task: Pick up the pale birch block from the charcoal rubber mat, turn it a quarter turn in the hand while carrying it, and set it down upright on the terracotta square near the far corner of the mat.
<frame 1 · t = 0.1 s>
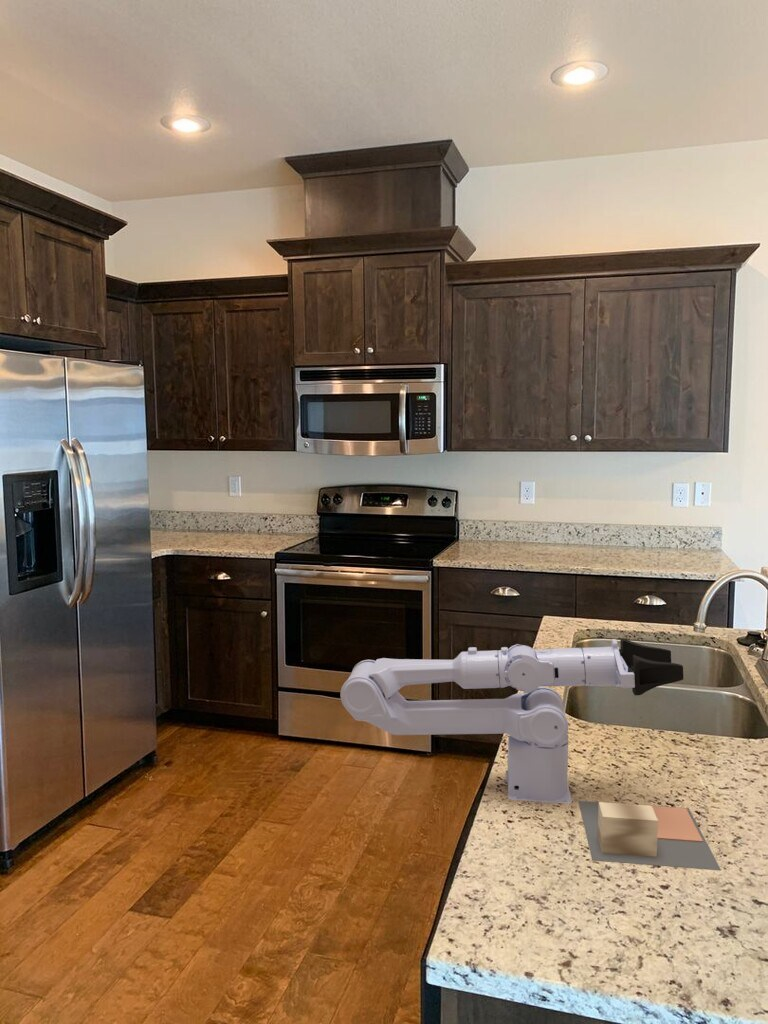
hand: (676, 664, 112), 21 cm above the worktop, tool horizontal, fingers open, 7 cm apart
birch block: (626, 846, 101), resting on rubber mat
rubber mat: (643, 835, 105), on the worktop
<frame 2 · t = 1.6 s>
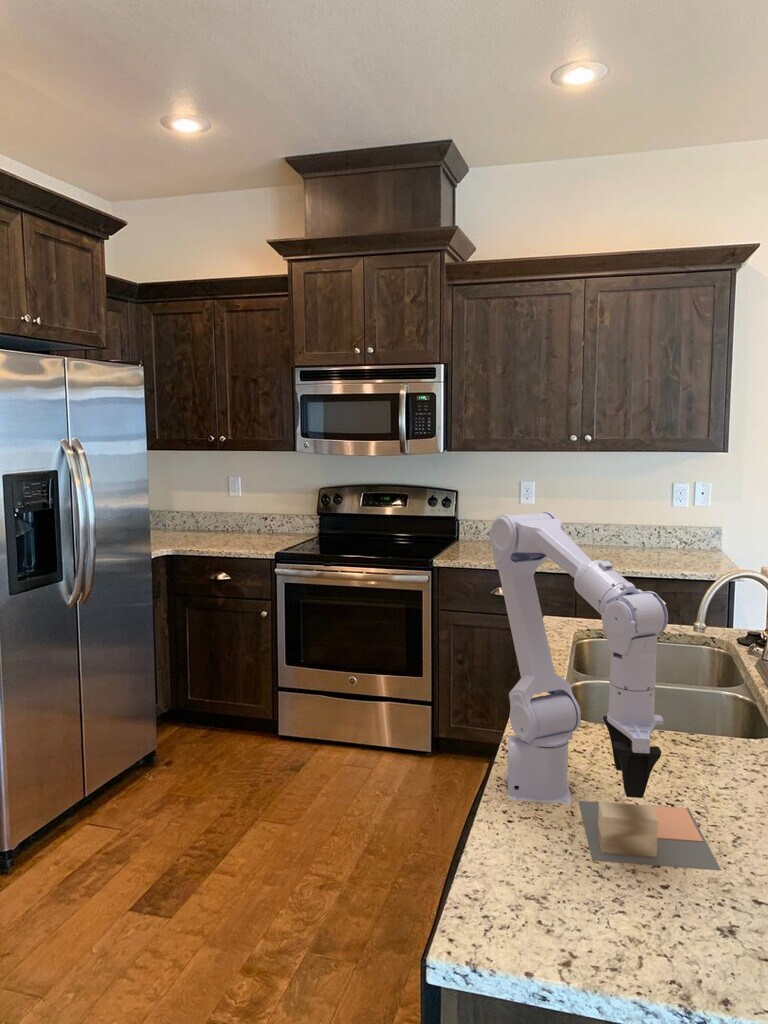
hand: (628, 782, 100), 9 cm above the worktop, tool pointing down, fingers open, 7 cm apart
nothing on the worktop moved.
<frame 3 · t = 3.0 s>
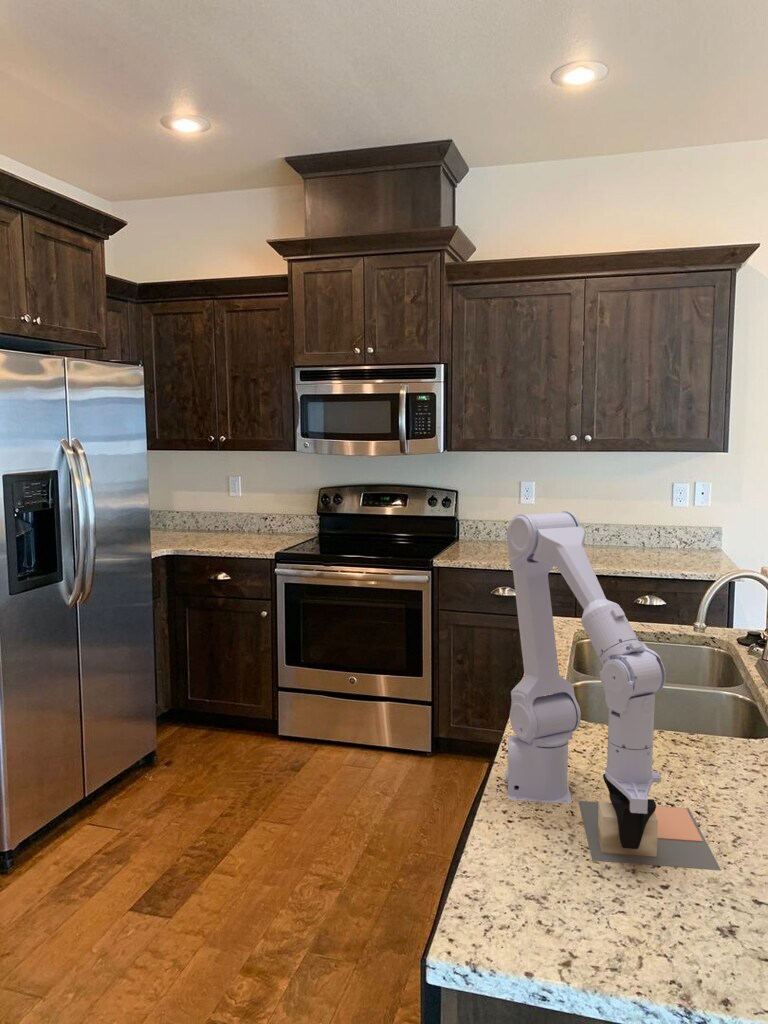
hand: (626, 837, 101), 2 cm above the worktop, tool pointing down, fingers closed on birch block, 4 cm apart
birch block: (626, 846, 101), resting on rubber mat, touching gripper
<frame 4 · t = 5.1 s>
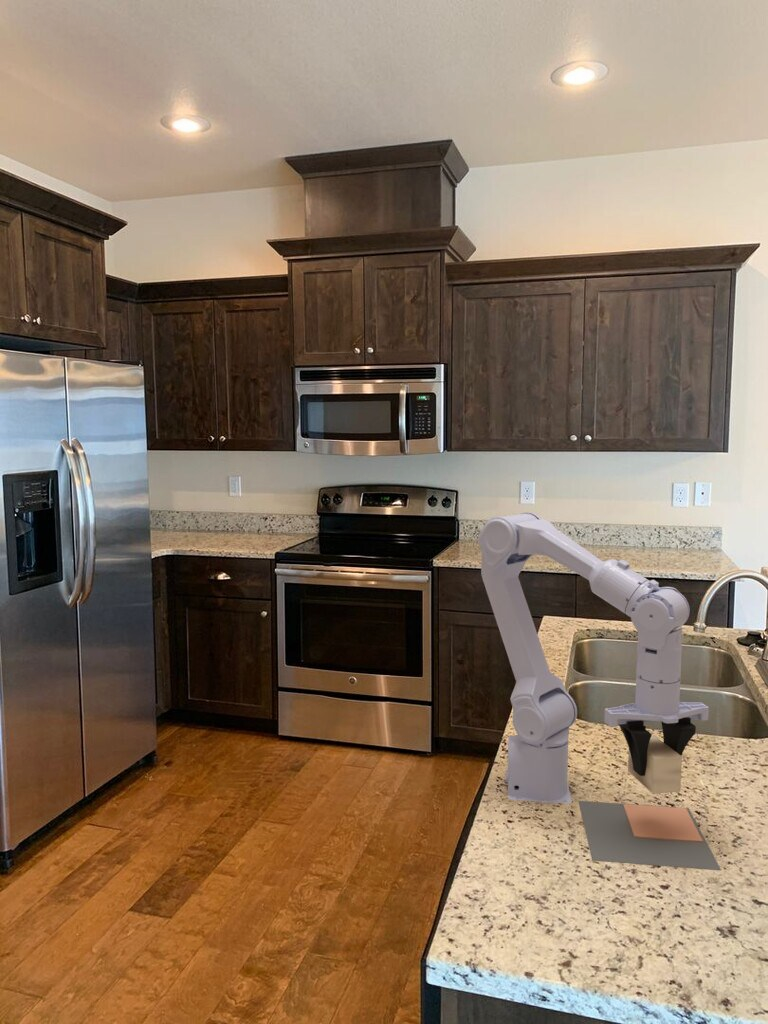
hand: (654, 771, 104), 9 cm above the worktop, tool pointing down, fingers closed on birch block, 4 cm apart
birch block: (653, 781, 105), point 7 cm above the worktop, touching gripper
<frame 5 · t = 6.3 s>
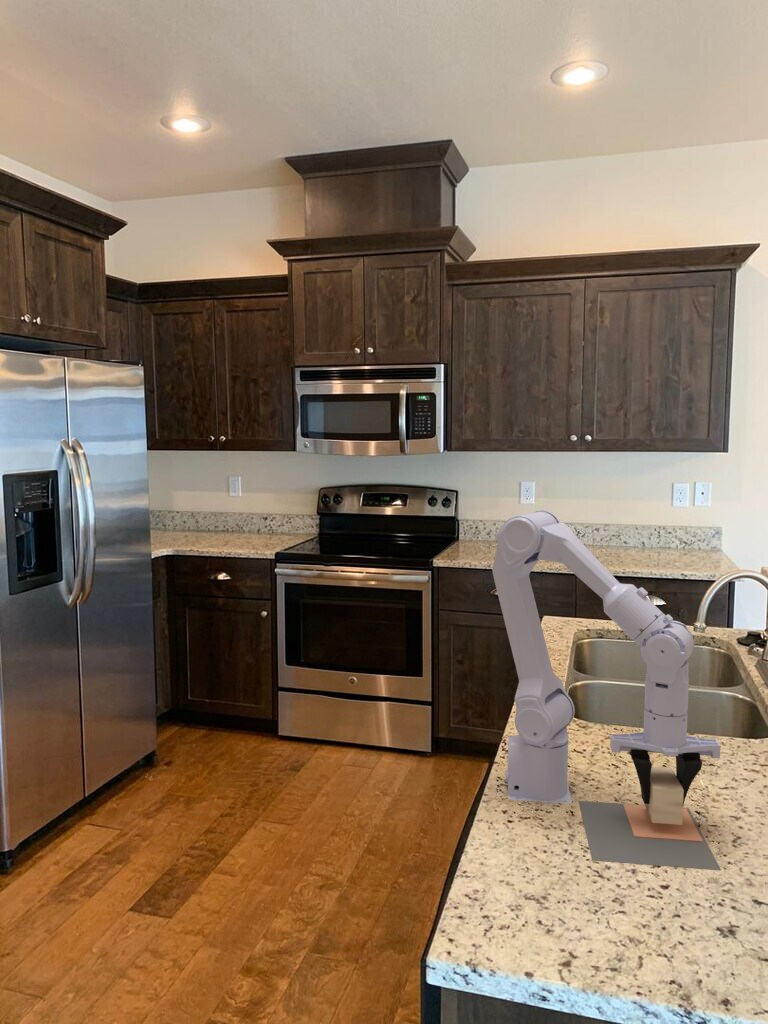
hand: (662, 801, 107), 4 cm above the worktop, tool pointing down, fingers closed on birch block, 4 cm apart
birch block: (661, 811, 107), point 2 cm above the worktop, touching gripper
when the fingers open (3 cm above the worktop, at t = 7.3 s): birch block stays where it is, resting on rubber mat.
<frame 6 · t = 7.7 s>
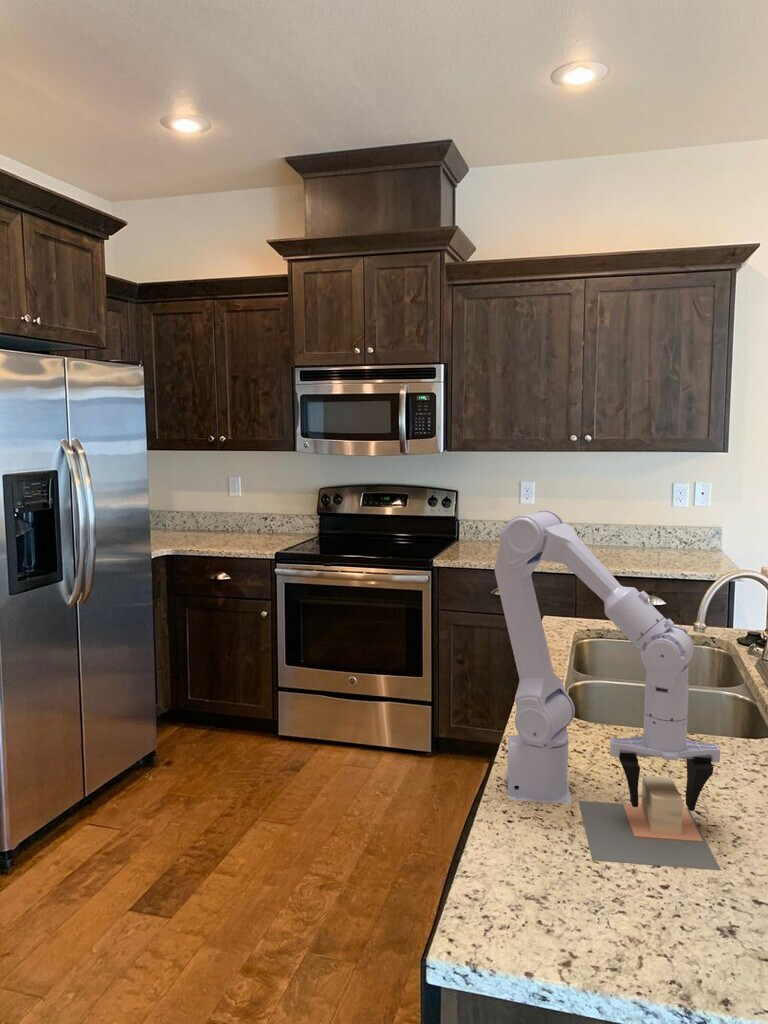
hand: (661, 805, 107), 3 cm above the worktop, tool pointing down, fingers open, 7 cm apart
birch block: (660, 820, 107), point 1 cm above the worktop, touching rubber mat
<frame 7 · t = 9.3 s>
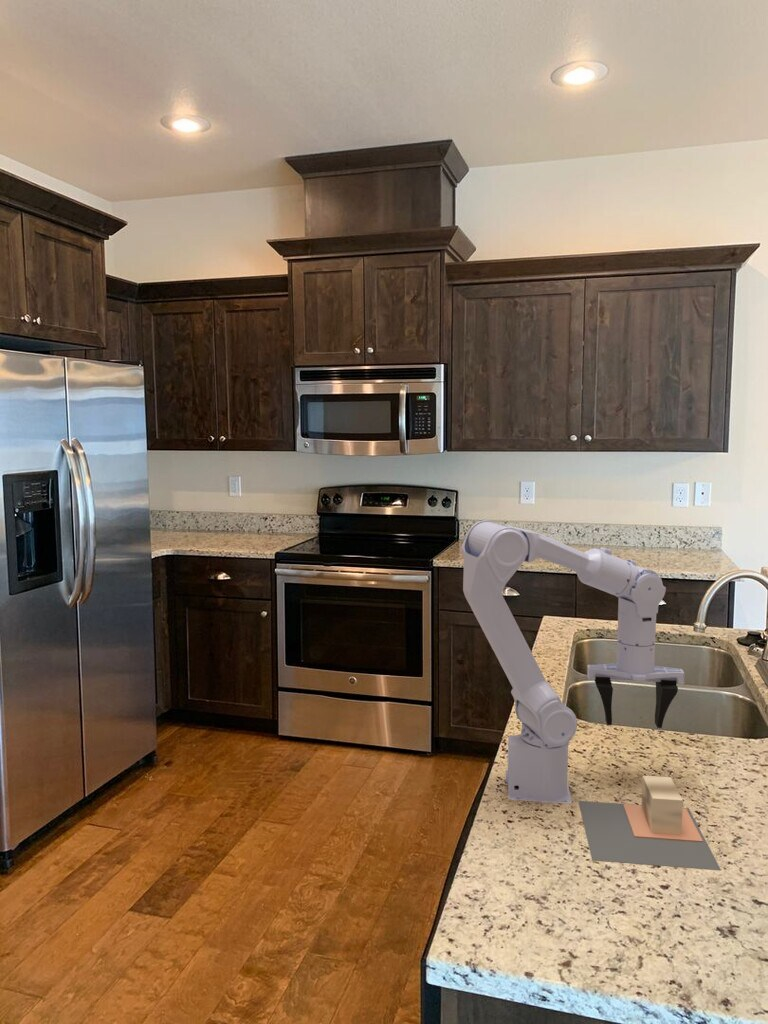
hand: (633, 724, 120), 9 cm above the worktop, tool pointing down, fingers open, 7 cm apart
nothing on the worktop moved.
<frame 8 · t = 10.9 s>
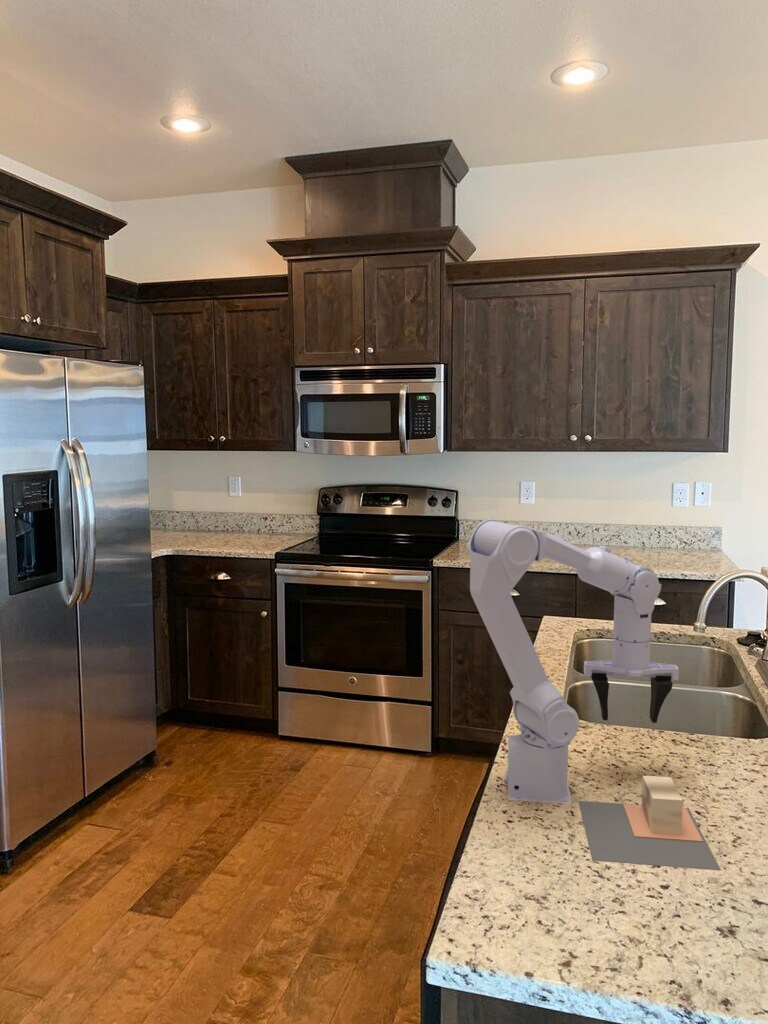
hand: (628, 719, 122), 9 cm above the worktop, tool pointing down, fingers open, 7 cm apart
nothing on the worktop moved.
at the end: birch block 0.2 cm from the target spot, point 0.6 cm above the worktop; birch block tilted 0°; the gripper is holding nothing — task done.
